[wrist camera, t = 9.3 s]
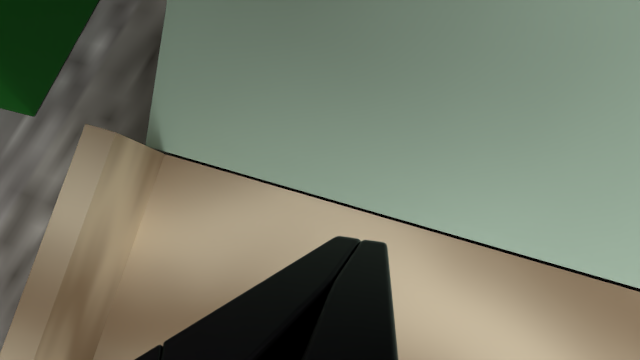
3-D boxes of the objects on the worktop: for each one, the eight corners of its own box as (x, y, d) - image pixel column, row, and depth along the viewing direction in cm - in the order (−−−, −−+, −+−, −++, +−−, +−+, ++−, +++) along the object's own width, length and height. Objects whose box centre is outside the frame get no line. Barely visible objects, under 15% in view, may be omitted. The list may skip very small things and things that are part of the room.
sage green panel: (773, 330, 13) (1006, -198, 11) (139, 146, 18) (198, -241, 16) (738, 305, 15) (932, -155, 12) (168, 143, 20) (224, -206, 18)
